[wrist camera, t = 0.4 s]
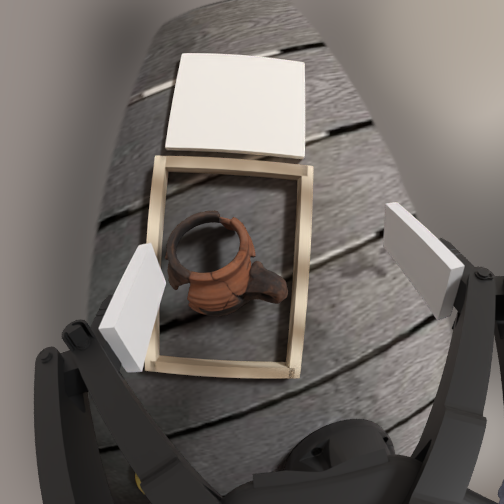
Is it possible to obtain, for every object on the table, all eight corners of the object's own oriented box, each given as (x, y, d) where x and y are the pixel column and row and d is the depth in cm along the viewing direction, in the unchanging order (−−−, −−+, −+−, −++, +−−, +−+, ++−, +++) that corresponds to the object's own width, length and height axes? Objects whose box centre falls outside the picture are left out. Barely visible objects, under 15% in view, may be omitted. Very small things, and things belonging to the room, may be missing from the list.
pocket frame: (295, 371, 32) (299, 378, 30) (149, 364, 31) (145, 370, 29) (308, 171, 32) (313, 166, 30) (159, 161, 31) (155, 155, 29)
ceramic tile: (302, 159, 32) (304, 156, 31) (166, 150, 31) (165, 147, 30) (302, 66, 33) (304, 62, 32) (183, 57, 31) (182, 53, 30)
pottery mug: (167, 309, 32) (140, 276, 25) (198, 238, 36) (182, 192, 29) (275, 342, 30) (279, 316, 22) (297, 261, 34) (305, 217, 27)
